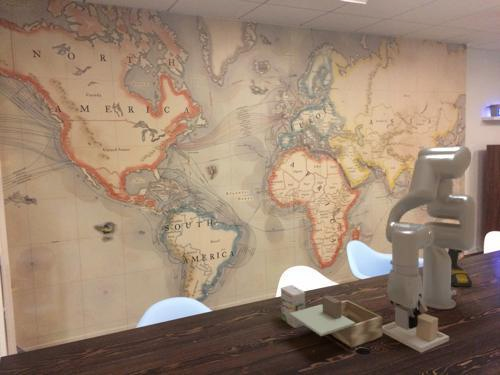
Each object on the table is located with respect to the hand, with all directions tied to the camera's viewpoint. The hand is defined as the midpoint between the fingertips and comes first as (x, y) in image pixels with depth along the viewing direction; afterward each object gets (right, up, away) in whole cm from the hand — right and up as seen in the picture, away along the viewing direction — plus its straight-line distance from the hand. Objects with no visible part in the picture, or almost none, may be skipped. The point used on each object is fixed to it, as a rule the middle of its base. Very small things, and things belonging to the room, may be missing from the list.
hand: (405, 323), depth 111 cm
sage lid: (-27, +2, -2) cm, 27 cm away
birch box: (-17, -5, +4) cm, 18 cm away
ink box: (-34, -5, +13) cm, 37 cm away
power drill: (+43, 0, +44) cm, 61 cm away
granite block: (0, -1, 0) cm, 1 cm away
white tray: (+2, -4, 0) cm, 5 cm away
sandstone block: (+6, -4, -1) cm, 7 cm away
